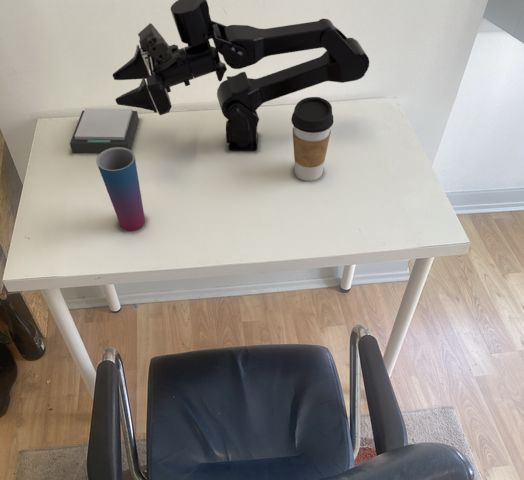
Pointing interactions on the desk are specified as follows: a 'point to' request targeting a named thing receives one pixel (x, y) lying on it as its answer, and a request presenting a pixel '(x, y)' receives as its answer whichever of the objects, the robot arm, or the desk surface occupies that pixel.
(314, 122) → the coffee cup
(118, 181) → the cup
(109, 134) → the scale
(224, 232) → the desk surface
